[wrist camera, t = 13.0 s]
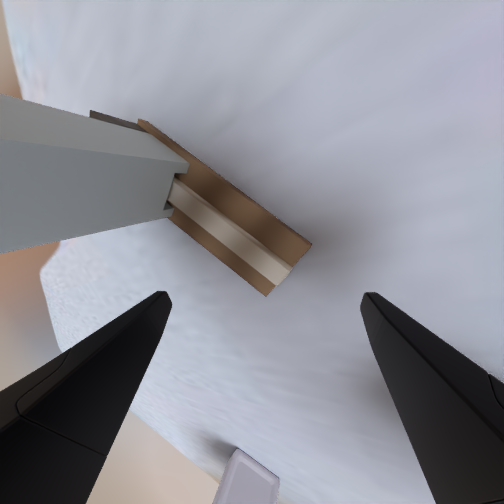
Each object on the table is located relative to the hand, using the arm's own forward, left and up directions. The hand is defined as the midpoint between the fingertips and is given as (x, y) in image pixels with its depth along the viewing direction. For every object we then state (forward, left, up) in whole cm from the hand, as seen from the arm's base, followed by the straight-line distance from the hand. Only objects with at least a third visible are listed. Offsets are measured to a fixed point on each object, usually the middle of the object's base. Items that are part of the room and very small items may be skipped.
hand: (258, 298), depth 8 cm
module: (+9, +11, -9) cm, 17 cm away
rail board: (+5, +8, -10) cm, 13 cm away
